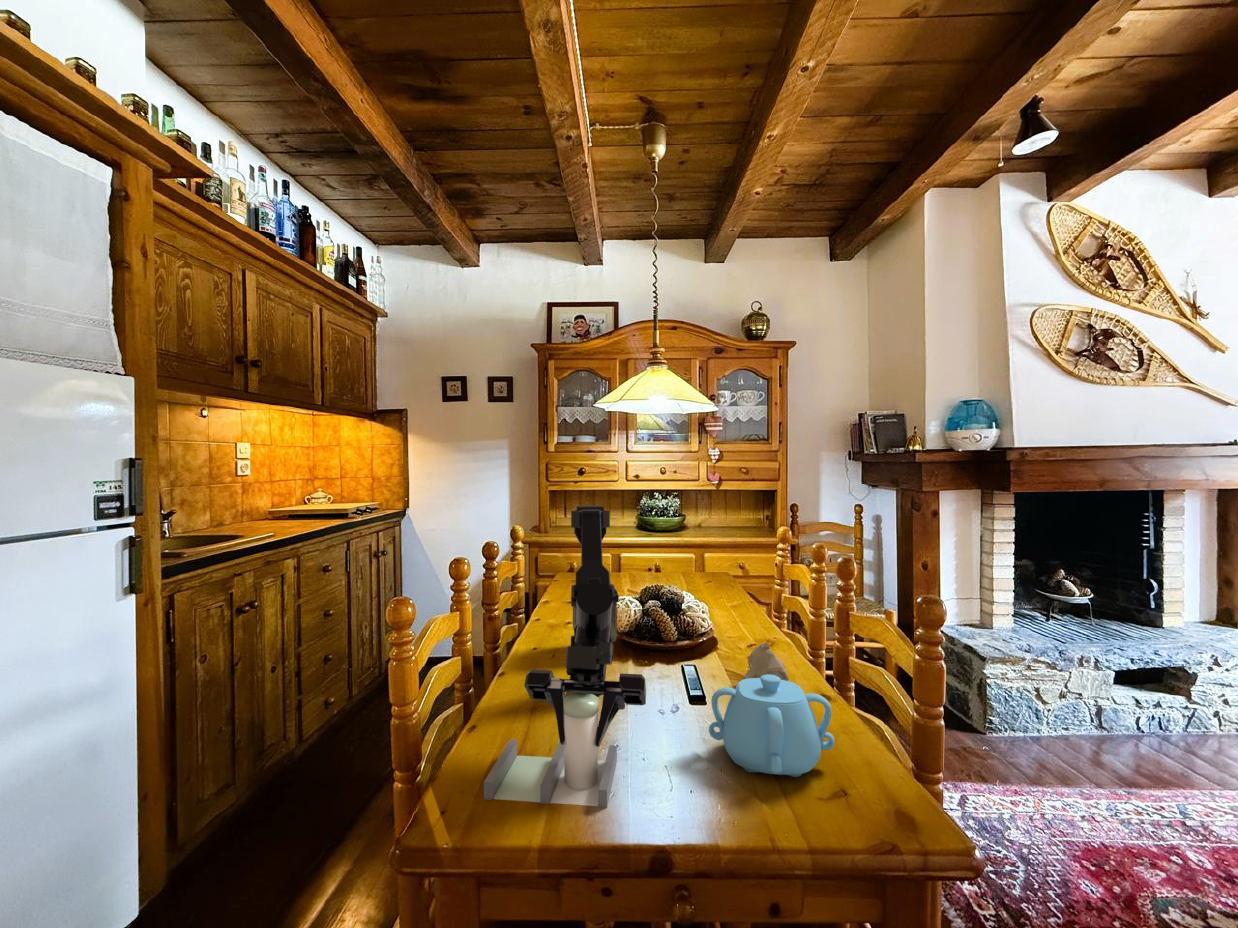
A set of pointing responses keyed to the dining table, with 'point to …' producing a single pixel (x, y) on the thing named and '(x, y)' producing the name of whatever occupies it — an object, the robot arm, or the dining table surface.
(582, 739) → the white capped canister
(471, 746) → the dining table surface
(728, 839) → the dining table surface
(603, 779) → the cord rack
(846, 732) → the dining table surface
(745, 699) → the decorative pot
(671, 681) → the dining table surface
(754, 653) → the ceramic model
